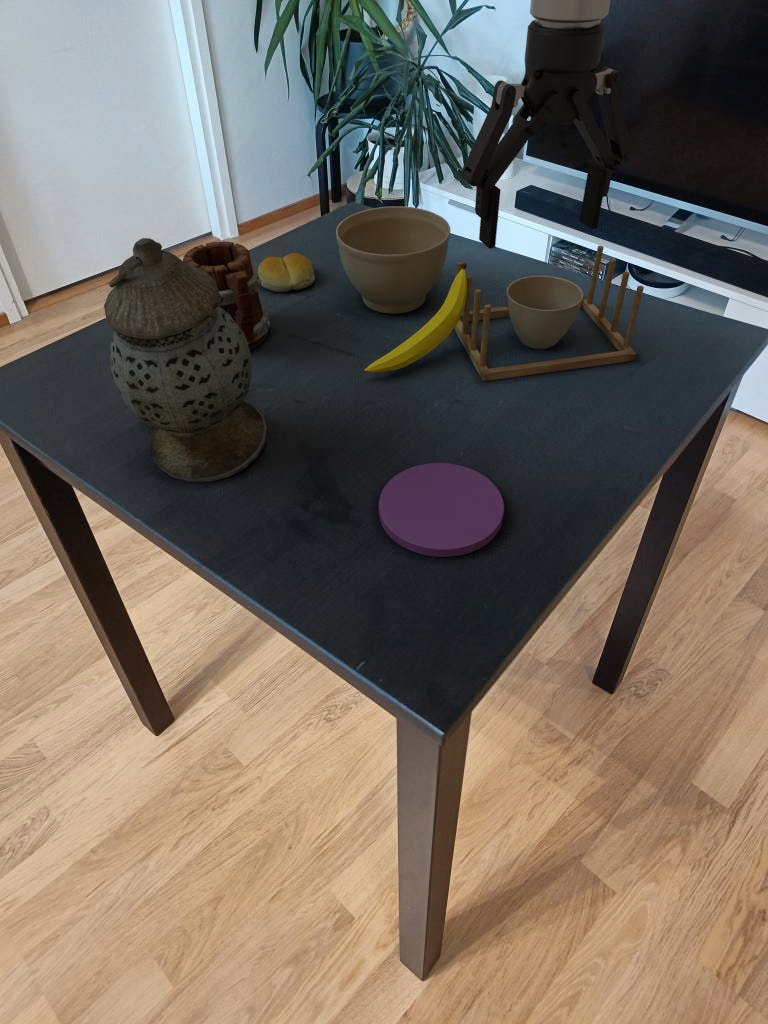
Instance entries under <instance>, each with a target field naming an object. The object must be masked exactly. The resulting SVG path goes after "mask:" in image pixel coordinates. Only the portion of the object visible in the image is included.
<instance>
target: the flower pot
mask: <svg viewBox="0 0 768 1024" xmlns="http://www.w3.org/2000/svg"><path fill="white" fill-rule="evenodd" d="M583 297H585V296H584V291H583V289H582V288H581V286H579V285H578V284H576V283H575V282H573V281H571V280H568V279H565V278H562V277H557V276H551V275H530V276H529V275H528V276H525V277H519V278H517V279H515V280H513V281H512V282H510V284H509V285H508V286H507V287H506V305H507V306H508V311H509V315H510V317H509V319H510V323H511V324H512V327H513V330H514V332H515V334H516V336H517V338H518V340H519V341H520V343H521V344H522V345H524V346H525V347H528V348H530V349H535V350H545V349H550V348H552V347H554V346H555V345H556V344H557V343H559V341H561V340H562V338H563V337H564V336H565V335H566V334H567V332H568V331H569V329H570V328H571V326H572V324H574V322H575V320H576V318H577V316H578V314H579V311H580V309H581V308H580V306H581V304H582V300H583Z"/></svg>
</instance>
